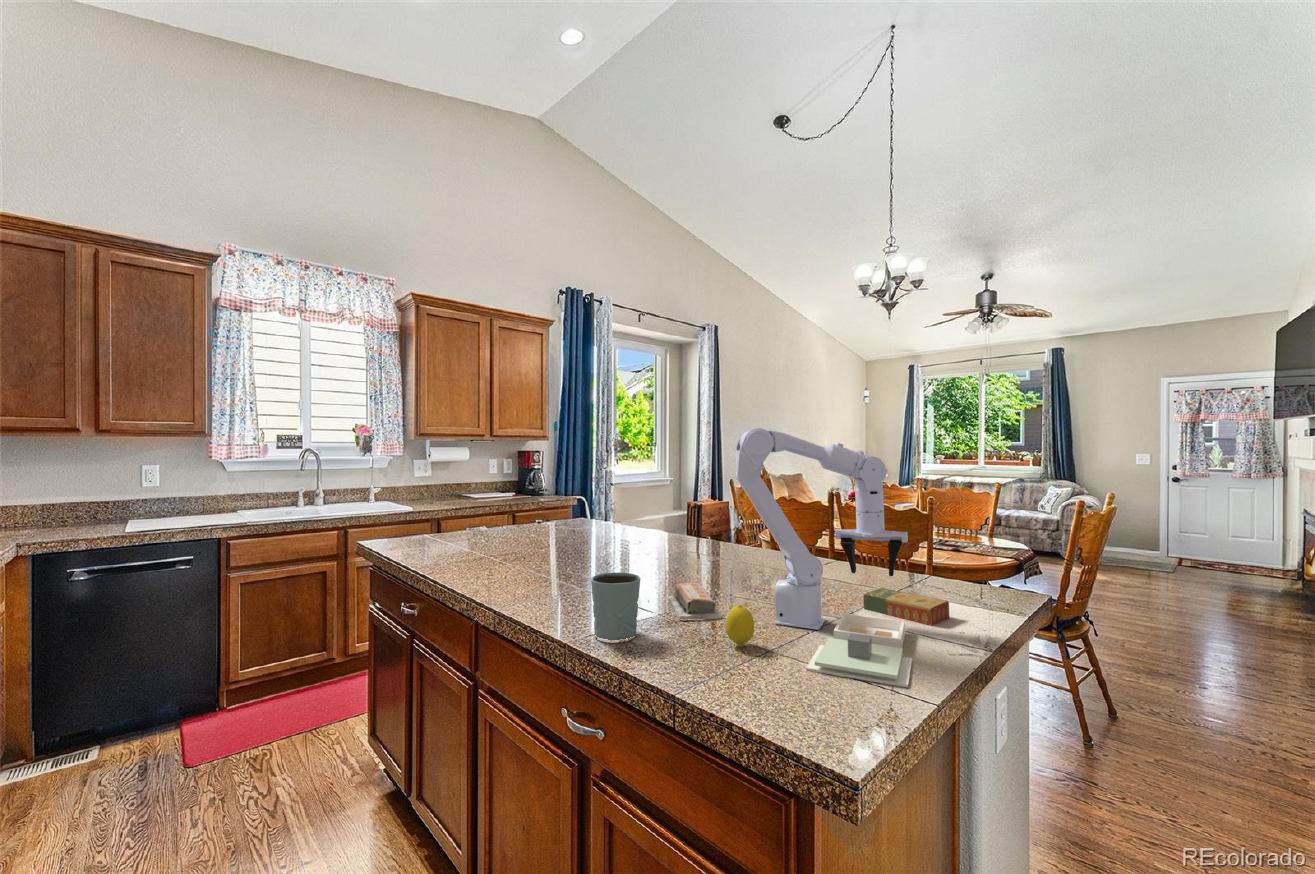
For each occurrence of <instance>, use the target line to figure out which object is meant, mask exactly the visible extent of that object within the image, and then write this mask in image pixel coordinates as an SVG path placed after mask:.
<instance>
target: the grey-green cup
mask: <svg viewBox="0 0 1315 874" xmlns="http://www.w3.org/2000/svg"><path fill="white" fill-rule="evenodd" d="M590 583H591V585H590V586H591V596H592V603H593V604H592V612H593V617H594V621H593V624H594V629H593V630H594V636H595V635H596V636H597V637H599V638H603V639H608V640H620V639H626V638H630V637H633V636H635V634H636V635H637V630H638V628H637V627H638V622H637V621H638V619H637V618H638V613H639V611H638V610H639V604H638V601H639V598H640V587H641V577H640V576H639V575H637V574H635V573H629V572H606V573H599V574H596V575H592V577H591V578H590ZM635 637H636V636H635Z"/></svg>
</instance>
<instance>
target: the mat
mask: <svg viewBox="0 0 1315 874" xmlns="http://www.w3.org/2000/svg"><path fill="white" fill-rule="evenodd" d="M824 645H825V644H819V646H818V648H817V649H816V651H815V653H814V654H813V657H811V659H810V661H809V663H808V664H807V665H806V667H805V669H806V670H805V671H810V672H815V673H820V674H827V675H833V676H837V677H844V678H850V679H856V680H860V681H861V680H862V681H867V682H874V683H879V684H884V685H885V684H886V685H890V686H896V687H901V688H909V683H910V676H911V670H912V663H913V658H910V657H904V656H902V659H901V664H900V669H899V674H898V679H893V678H883V677H877V676H871V675H865V674H859V673H853V672H847V671H841V670H835V669H829V668H826V667H821V666H815V661H816V659H817V657H818V655H819V654H820V652H821V650H822V649H823V647H824Z"/></svg>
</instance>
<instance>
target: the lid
mask: <svg viewBox="0 0 1315 874" xmlns="http://www.w3.org/2000/svg"><path fill="white" fill-rule="evenodd" d="M823 645H824V647H823V649H822V650H821V652H820V654H819V655H818V657H817V659H816V661H815V666H821V667H826V668H829V669H835V670H841V671H847V672H853V673H859V674H865V675H871V676H877V677H883V678H893V679H898V674H899V669H900V664H901V659H902V657H903V652H904V648H903V647H902V648H898V647H891V646H884V645H877V644H872V638H871V636H867V635H860V634H853V633H851V634H850V636H849V638H848V640H842V639H835V638H834V637H828V638H827V640H826V642H825V643H824V644H823Z"/></svg>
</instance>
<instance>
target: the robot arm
mask: <svg viewBox="0 0 1315 874" xmlns="http://www.w3.org/2000/svg"><path fill="white" fill-rule="evenodd" d="M785 451H786V452H788V453H792V454H796V455H799V456H803V457H806V458H809V459H812V460H816V461H818V462H819V464H820V466H821V468H823V469H824V470H827V471H830V472H833V473H836V474H840V475H842V476H846V477H848V478H853V479H854V485H855V486H854V487H855V488H854V489H855V490H854V493H855V495H854V496H855V497H854V498H855V518H856V519H855V522H856V523H855V524H856V525H855V526H856V528H853V529H852V528H851V529H849V528H848V529H845V528H843V529H841V528H840V529H839V528H837V529H836V530H835V532H834V533H835V540H840V543H839V544H840V546H841V547H842V549H843V552H844V553H845V556H846V558H847V561H848V564H849V566H850V571H851V572H850V573H851V574H856V572H857V563H856V540H858V541H859V540H860V541H878V542H888V544H887V547H888V548H887V549H888V550H887V551H888V562H889V563H888V575H889V577H893V576H894V572H895V571H894V570H895V564H896V560H897V557H898V554H899V552H900V549H901V548H902V546H903V543H908V540H909V539H908V537H909V536H908V531H896V530H885V506H884V505H885V504H884V502H885V501H884V487H883V483H884V480H885V478H886V476H887V475H888V468H886V465H885V462H884V461H883V460H882V459H881V458H879V457H878V456H877V457H876V456H874V455H873V456H871V455H866V454H865V451H862V450H858V451H855V450H852V449H849V448H846V447H844V444H843V443H840V442H835V443H829V444H827V445H826V446H821V445H818V444H815V443H813V442H810V441H807V440H804V439H802V438H798V437H797V436H793V435H791V434H788V433H784V432H780V431H776V430H767V429H764V428H762V427H757V428H756V427H755V428H752V429H746V430H745V431H743V432H742V433H741V434H740V436H739V439H738V441H737V443H736V446H735V478H736V480H737V482H738V483H739V485H740V486H741V488H742V490H743V491H744V493H745V495H746V496H747V497H748V499H749V501H750V502H751V504H752V505H753V507H754V509H755V510H756V512H757V514H758V515H759V517H760V519H761V520H762V522H763V523H764V525H765V526H766V529H767V530H768V531H769V533H770V534H771V536H772V538H773V539H774V541H775V542H776V544H777V546H778V548H779V550H780V552H781V554H782V556H783V561H784V566H785V568H786V570H787V571H788V573H787V576H786V578H785V579H778V580H777V581H776V584H775V591H774V606H775V607H774V608H775V610H774V611H775V621H774V624H775V625H780V626H781V625H782V626H788V627H796V628H803V629H804V628H805V629H810V630H818V631H819V630H821V627H822V626H823V625H824V623H825V622H826V620H827V617H826V616H822V593H821V592H822V589H821V588H822V585H821V582H822V581H821V578H822V576H823V574H824V566H823V563H822V561H821V560H820V559H819V558H818V557H817V556H816V555H814V554H812V553H811V552H810V551H809V549H808V547H807V546H806V545H805V543H804V542H803V541H802V540H801V538H800V537H799V536H798V534H797V533H796V531H795V529H794V528H793V526H792V524H791V523H790V521H789V520H788V518H787V516H786V515H785V514H784V511H783V510H782V508H781V507H780V505H779V504H778V502H777V501H776V499H775V497H774V496H773V494H772V493H771V491H770V490H769V488H768V486H767V484H766V483H765V482H764V480H763V478H762V477H761V473H762V470H763V466H764V462H765V461H766V460H767V458H768V456H769V455H770V454H771V453H778V452H779V453H780V452H785Z"/></svg>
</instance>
